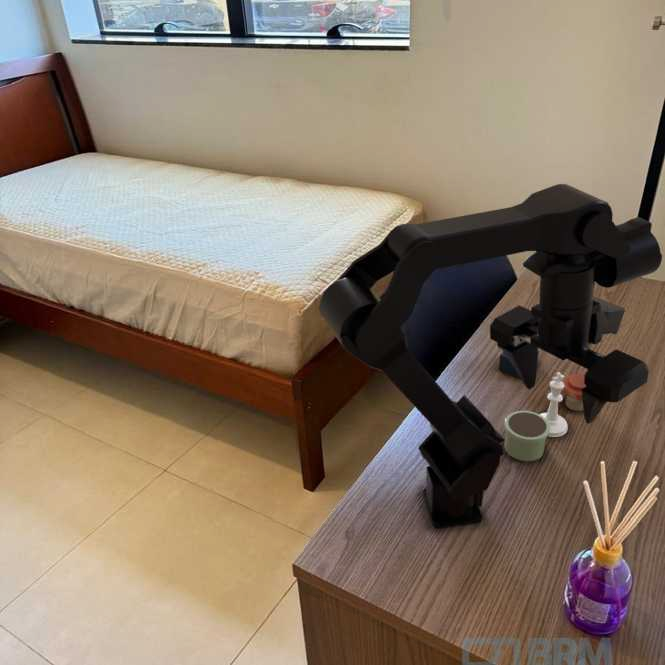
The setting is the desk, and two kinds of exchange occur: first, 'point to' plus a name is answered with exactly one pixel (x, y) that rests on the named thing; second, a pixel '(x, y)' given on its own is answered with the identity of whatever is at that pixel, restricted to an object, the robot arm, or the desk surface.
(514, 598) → the desk surface
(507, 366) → the watch
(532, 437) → the pot
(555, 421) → the chess piece
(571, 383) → the mushroom
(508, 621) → the desk surface
